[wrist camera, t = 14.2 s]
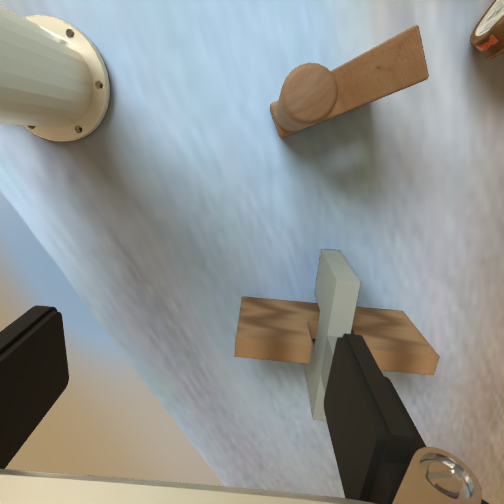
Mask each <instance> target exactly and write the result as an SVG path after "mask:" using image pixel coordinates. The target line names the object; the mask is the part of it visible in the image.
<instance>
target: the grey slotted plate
mask: <svg viewBox="0 0 504 504" xmlns="http://www.w3.org/2000/svg"><path fill="white" fill-rule="evenodd" d="M360 283H361V282H360V280H359V279H358V277H357V276H356V274H355V273H354V271H353V270H352V268H351V267H350V265H349V264H348V262H347V261H346V259H345V258H344V256H343V255H342V253H341V252H340V250H329V249H321V253H320V259H319V266H318V273H317V279H316V286H315V296H316V299H317V302H318V306H319V309H320V316H319V322H318V328H317V334H316V339H312V338H311V342H312V349H311V356H310V362H309V363H304V369H305V375H306V381H307V387H308V393H309V399H310V405H311V411H312V417H313V420H324V421H327V420H326V416H325V412H324V396H325V391H326V387H327V382H328V378H329V373H330V368H331V364H332V359H333V354H334V350H335V345H336V341H337V338H338V337H342V336H343V334H345V333H346V334H351V329H352V324H353V318H354V313H355V308H356V303H357V298H358V293H359V288H360Z"/></svg>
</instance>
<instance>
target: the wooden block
mask: <svg viewBox="0 0 504 504" xmlns="http://www.w3.org/2000/svg"><path fill="white" fill-rule="evenodd" d="M428 77H429V75H428V70H427V65H426V60H425V56H424V51H423V46H422V41H421V36H420V31H419V26H417V25H416V26H413V27H411V28H409V29H408V30H406V31H404V32H402V33H400V34H398V35H397V36H395V37H393V38H391V39H389V40H387V41H386V42H384V43H382V44H380V45H378V46H376V47H375V48H373V49H371V50H369V51H367V52H365V53H363V54H362V55H360V56H358V57H356V58H354V59H352V60H351V61H349V62H347V63H345V64H343V65H341V66H340V67H338V68H336V69H334V70H332V71H329V70H328V69H327V68H326V67H324V66H322V65H320V64H316V63H307V64H303V65H300V66H298V67H297V68H295V69H294V70H292V71H291V72H290V74H289V75H288V76H287V77H286V79H285V81H284V84H283V86H282V89H281V93H280V97H279V100H278V101H276V102H274V103H272V104H271V105H270V112H271V115H272V118H273V121H274V123H275V126H276V129H277V132H278V135H279V137H280V138H283V137H286V136H288V135H290V134H293V133H295V132H298V131H300V130H302V129H305V128H307V127H310V126H312V125H315V124H318V123H319V122H323V121H326V120H328V119H331V118H333V117H336V116H338V115H341V114H343V113H346V112H348V111H350V110H353V109H355V108H358V107H360V106H363V105H365V104H368V103H370V102H373V101H375V100H378V99H380V98H382V97H385V96H387V95H390V94H392V93H395V92H397V91H400V90H402V89H405V88H407V87H410V86H412V85H415V84H417V83H419V82H422V81H424V80H426V79H428Z"/></svg>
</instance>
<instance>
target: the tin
mask: <svg viewBox="0 0 504 504" xmlns="http://www.w3.org/2000/svg"><path fill="white" fill-rule="evenodd" d="M470 43H471V44H472V45H473V46H474V47H475V48H476V49H477V50H479V51H480V52H481V53H483V54H484V55H485V58H486V59H491V58H494V57H496V56H498V55H500V54H501V53H503V52H504V0H495V1H494V2H493V3H492V5H491V6H490V7H489V9H488V10H487V11H486V13H485V14H484V15H483V17H482V18H481V20H480V21H479V22H478V24H477V25H476V27H475V29H474V30H473V32H472V34H471V37H470Z"/></svg>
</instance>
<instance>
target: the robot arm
mask: <svg viewBox="0 0 504 504" xmlns="http://www.w3.org/2000/svg"><path fill="white" fill-rule="evenodd" d="M73 34H74V37H73ZM102 84H103V88H101V85H102ZM109 98H110V83H109V78H108V72H107V69H106V67H105V64H104V61H103V59H102V57H101V55H100V53H99V52H98V50H97V48H96V47H95V46H94V44H93V43H92V42H91V41H90V39H89V38H88V37H86V36H85V35H84V34H83V33H82V32H81V31H80V30H78V29H77V28H75V27H74V26H72V25H71V24H69V23H67V22H65V21H63V20H61V19H59V18H56V17H52V16H49V15H32V16H26V17H22V16H20V15H18V14H16V13H14V12H12V11H10V10H8V9H6V8H4V7H2V6H0V123H1V124H16V125H22V126H23V127H24V128H26V129H27V130H28V131H30V132H32V133H33V134H35V135H37V136H39V137H42V138H44V139H47V140H52V141H65V142H66V141H74V140H78V139H81V138H83V137H85V136H87V135H89V134H90V133H92V132H93V131H94V130H95V129H96V128H97V127H98V126H99V125H100V123H101V121H102V120H103V118H104V117H105V114H106V111H107V108H108V104H109ZM81 128H82V131H81ZM68 381H69V373H68V364H67V356H66V347H65V339H64V330H63V322H62V315H61V313H60V312H57V309H56V308H55V307H48V306H47V307H46V306H34V307H32V308H31V309H30V310H28V311H27V312H26V313H25V314H23V315H22V316H21V317H20V318H18V319H17V320H15V321H14V322H13V323H11V324H10V325H9V326H8V327H6V328H5V329H4V330H2V331H1V332H0V504H488V503H487V502H486V501H484V500H483V499H482V489H481V486H480V484H479V481H478V479H477V478H476V476H475V475H474V474H473V472H472V471H471V470H470V469H469V468H468V467H467V466H466V465H465V464H464V463H463V462H462V461H461V460H459V459H458V458H456V457H455V456H454V455H452V454H450V453H448V452H446V451H444V450H441V449H438V448H434V447H426V445H425V443H424V441H423V440H422V438H421V436H420V434H419V432H418V430H417V429H416V427H415V425H414V423H413V421H412V419H411V418H410V416H409V414H408V412H407V410H406V408H405V407H404V405H403V403H402V401H401V399H400V397H399V396H398V394H397V392H396V390H395V388H394V386H393V385H392V383H391V381H390V380H389V378H387V377H384V376H383V374H382V372H381V370H380V369H379V367H378V365H377V363H376V361H375V359H374V357H373V355H372V353H371V351H370V350H369V348H368V346H367V344H366V342H365V340H364V338H363V336H362V335H357V334H346V333H345V334H343V336H342V337H338V338H337V341H336V345H335V350H334V354H333V359H332V364H331V368H330V373H329V378H328V382H327V387H326V391H325V396H324V412H325V416H326V420H327V424H328V428H329V432H330V436H331V441H332V445H333V449H334V453H335V457H336V461H337V465H338V469H339V473H340V477H341V481H342V485H343V490H344V494H345V498H339V497H329V496H320V495H310V494H301V493H292V492H282V491H270V490H259V489H247V488H236V487H224V486H213V485H201V484H189V483H177V482H165V481H153V480H141V479H128V478H116V477H103V476H90V475H77V474H64V473H51V472H50V473H49V472H37V471H23V470H9V469H5V468H6V466H7V465H8V463H9V462H10V461H11V460H12V458H13V457H14V456H15V454H16V453H17V452H18V450H19V449H20V448H21V446H22V445H23V444H24V442H25V441H26V440H27V438H28V437H29V436H30V434H31V433H32V432H33V431H34V429H35V428H36V427H37V425H38V424H39V423H40V421H41V420H42V419H43V417H44V416H45V415H46V413H47V412H48V411H49V409H50V408H51V407H52V405H53V404H54V403H55V401H56V400H57V399H58V397H59V396H60V395H61V394H62V392H63V391H64V390H65V388H66V386H67V384H68Z"/></svg>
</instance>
